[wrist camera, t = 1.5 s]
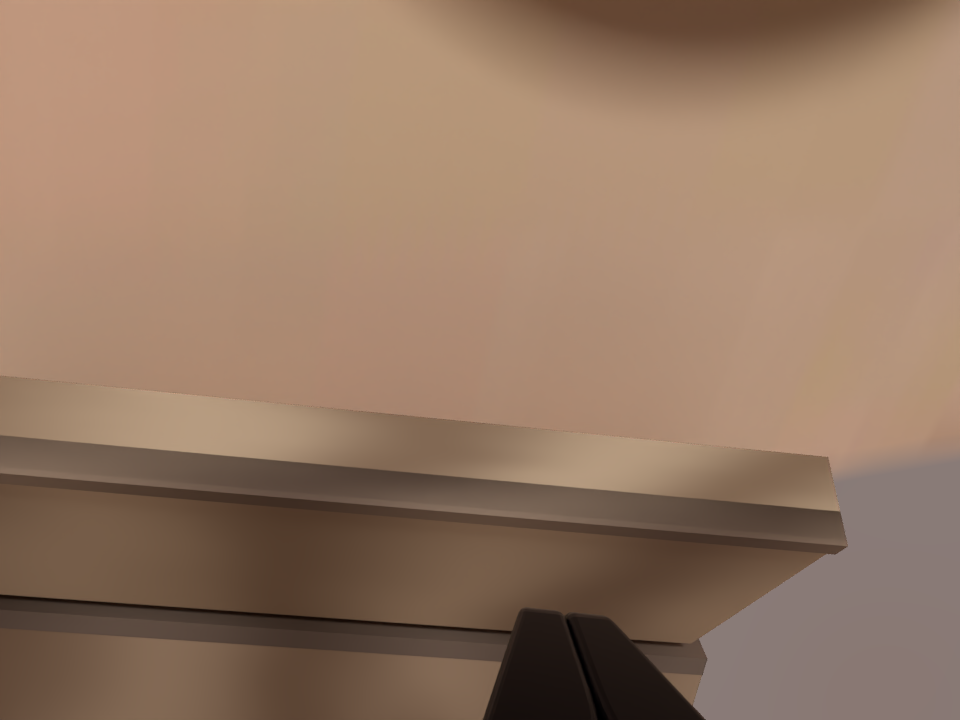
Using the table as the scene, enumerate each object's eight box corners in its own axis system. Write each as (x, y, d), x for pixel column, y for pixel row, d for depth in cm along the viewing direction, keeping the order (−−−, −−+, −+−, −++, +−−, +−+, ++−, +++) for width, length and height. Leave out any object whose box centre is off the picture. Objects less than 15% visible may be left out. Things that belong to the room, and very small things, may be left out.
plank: (827, 457, 14) (847, 546, 13) (684, 580, 20) (691, 648, 19) (-235, 352, 12) (-294, 447, 11) (-49, 522, 18) (-78, 593, 17)
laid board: (685, 610, 21) (707, 659, 19) (630, 804, 23) (644, 861, 22) (-55, 554, 19) (-99, 603, 17) (-26, 772, 21) (-62, 832, 20)
